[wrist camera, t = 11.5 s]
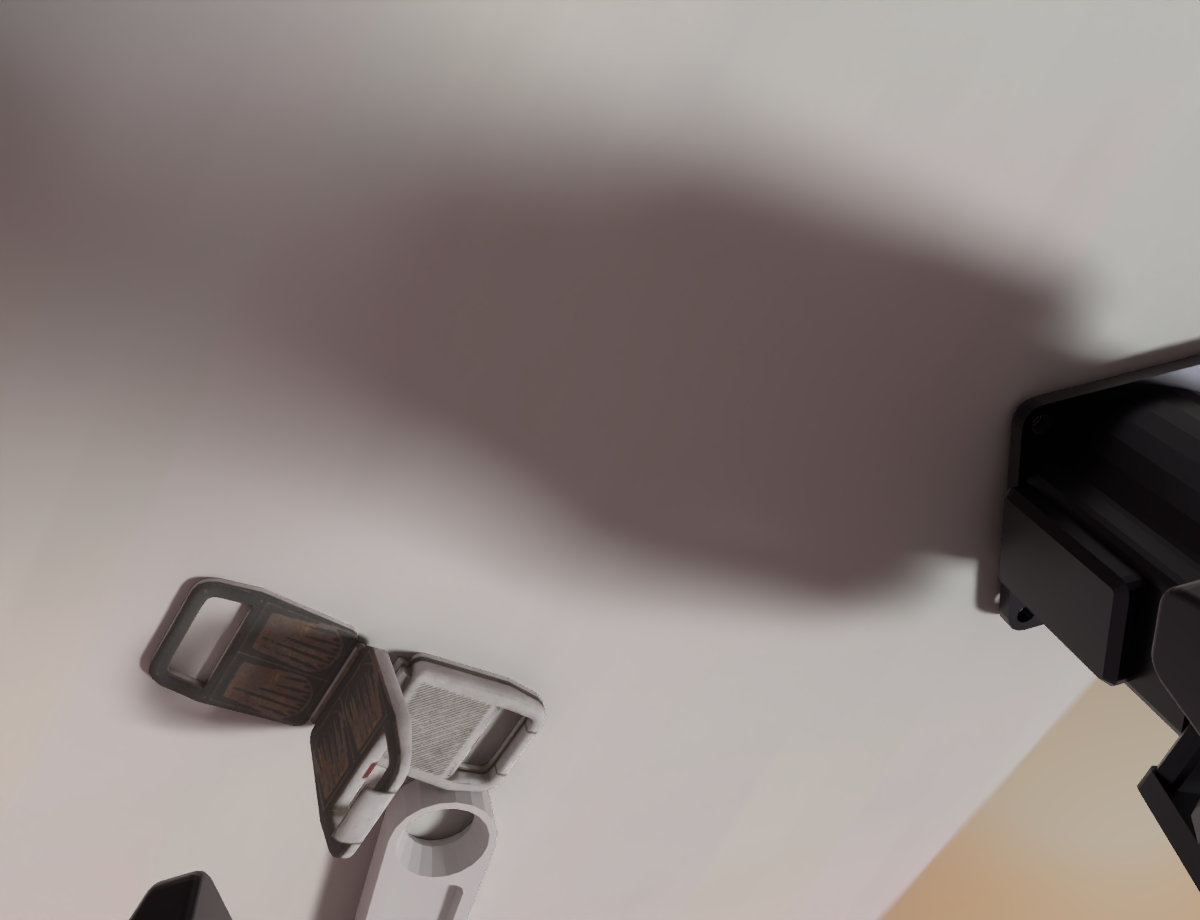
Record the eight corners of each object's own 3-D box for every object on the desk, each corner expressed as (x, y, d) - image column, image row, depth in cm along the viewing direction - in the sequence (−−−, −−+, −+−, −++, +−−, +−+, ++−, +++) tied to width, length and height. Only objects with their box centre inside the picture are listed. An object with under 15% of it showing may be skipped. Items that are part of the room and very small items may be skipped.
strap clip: (551, 685, 25) (593, 819, 21) (486, 775, 25) (515, 920, 22) (204, 558, 21) (181, 694, 17) (141, 669, 22) (106, 821, 18)
